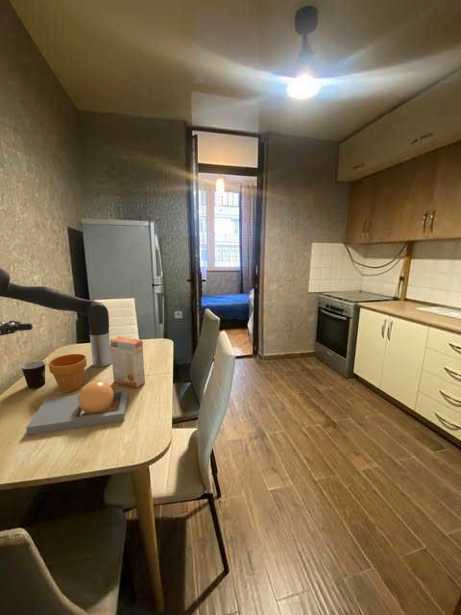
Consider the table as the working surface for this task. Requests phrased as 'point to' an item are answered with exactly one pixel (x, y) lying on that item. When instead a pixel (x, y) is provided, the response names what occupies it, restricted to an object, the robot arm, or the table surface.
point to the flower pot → (68, 371)
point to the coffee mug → (34, 374)
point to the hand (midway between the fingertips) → (31, 326)
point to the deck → (72, 414)
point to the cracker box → (127, 361)
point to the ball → (95, 397)
